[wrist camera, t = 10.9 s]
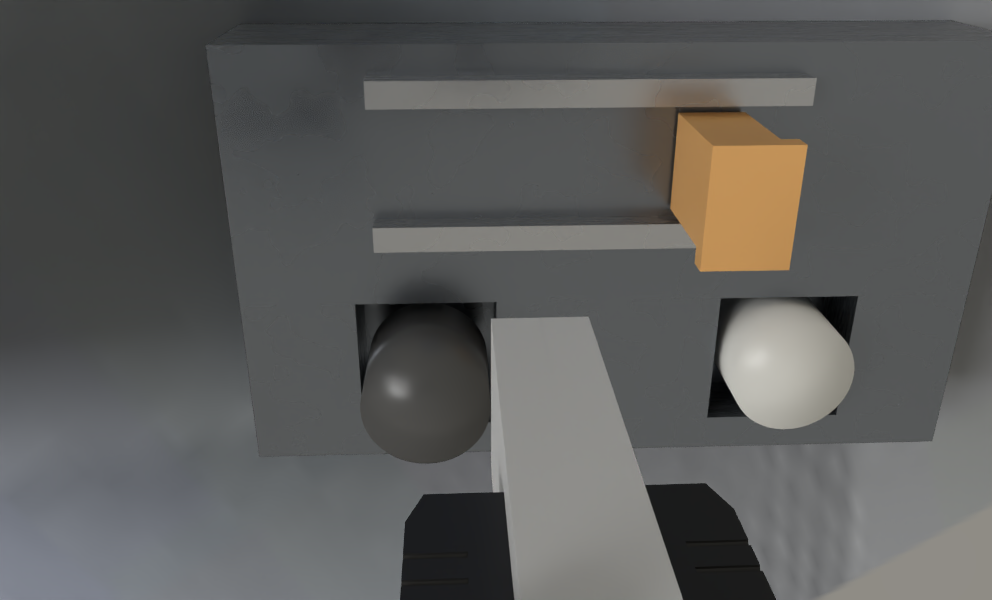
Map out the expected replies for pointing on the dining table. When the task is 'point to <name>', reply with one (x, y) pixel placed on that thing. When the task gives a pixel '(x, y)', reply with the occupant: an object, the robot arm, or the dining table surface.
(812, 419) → the white button
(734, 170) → the toggle knob
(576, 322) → the robot arm
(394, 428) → the black button
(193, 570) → the dining table surface
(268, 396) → the panel
